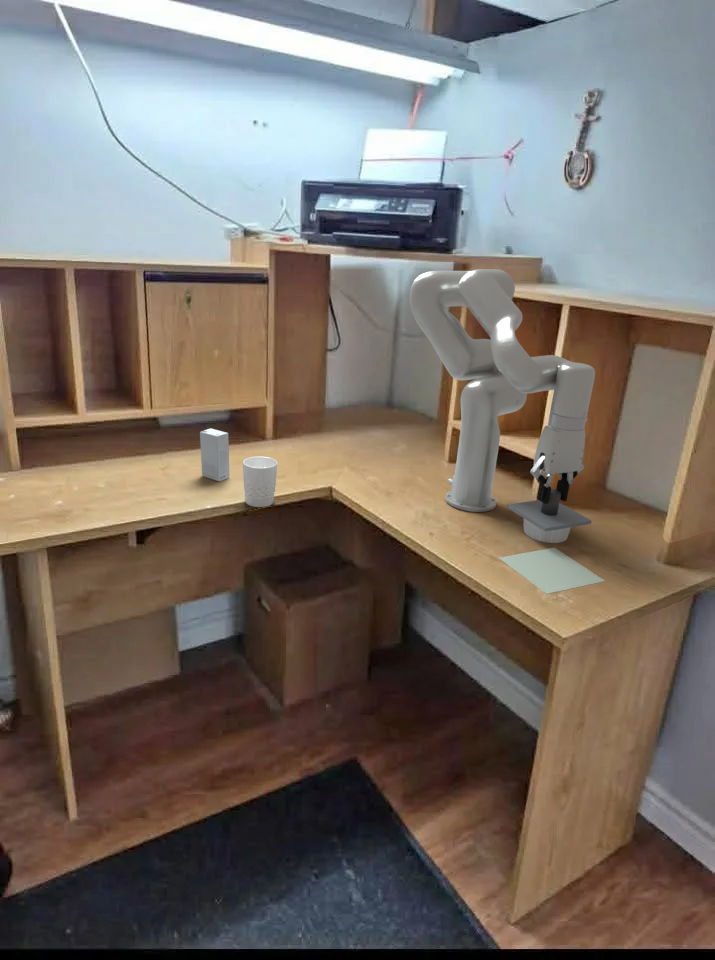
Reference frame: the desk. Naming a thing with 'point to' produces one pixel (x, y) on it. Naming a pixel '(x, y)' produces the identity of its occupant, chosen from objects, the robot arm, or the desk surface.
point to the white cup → (259, 480)
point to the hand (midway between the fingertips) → (551, 499)
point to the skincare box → (214, 454)
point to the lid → (549, 513)
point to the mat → (551, 570)
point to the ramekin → (545, 533)
